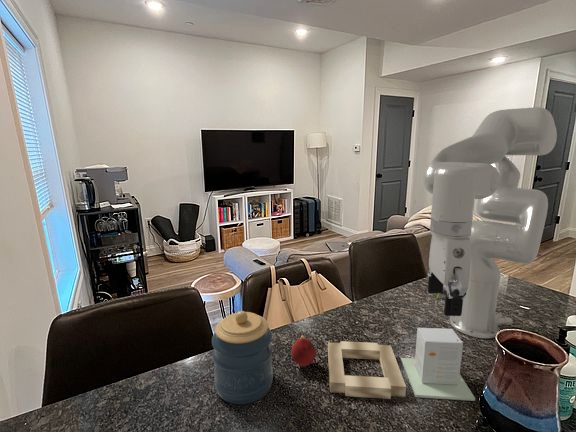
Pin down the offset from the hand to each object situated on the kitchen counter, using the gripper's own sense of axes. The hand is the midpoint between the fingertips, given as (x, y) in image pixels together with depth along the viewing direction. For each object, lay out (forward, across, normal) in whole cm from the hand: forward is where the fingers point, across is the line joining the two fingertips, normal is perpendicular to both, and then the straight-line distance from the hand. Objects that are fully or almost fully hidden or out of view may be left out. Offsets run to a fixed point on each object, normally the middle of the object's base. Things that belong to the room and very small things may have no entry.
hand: (443, 303), depth 68 cm
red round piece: (+18, +1, +31) cm, 36 cm away
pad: (+18, -1, +1) cm, 19 cm away
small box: (+18, -1, 0) cm, 18 cm away
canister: (+18, -6, +44) cm, 48 cm away
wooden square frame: (+18, 0, +17) cm, 25 cm away
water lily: (+20, +42, -18) cm, 50 cm away
